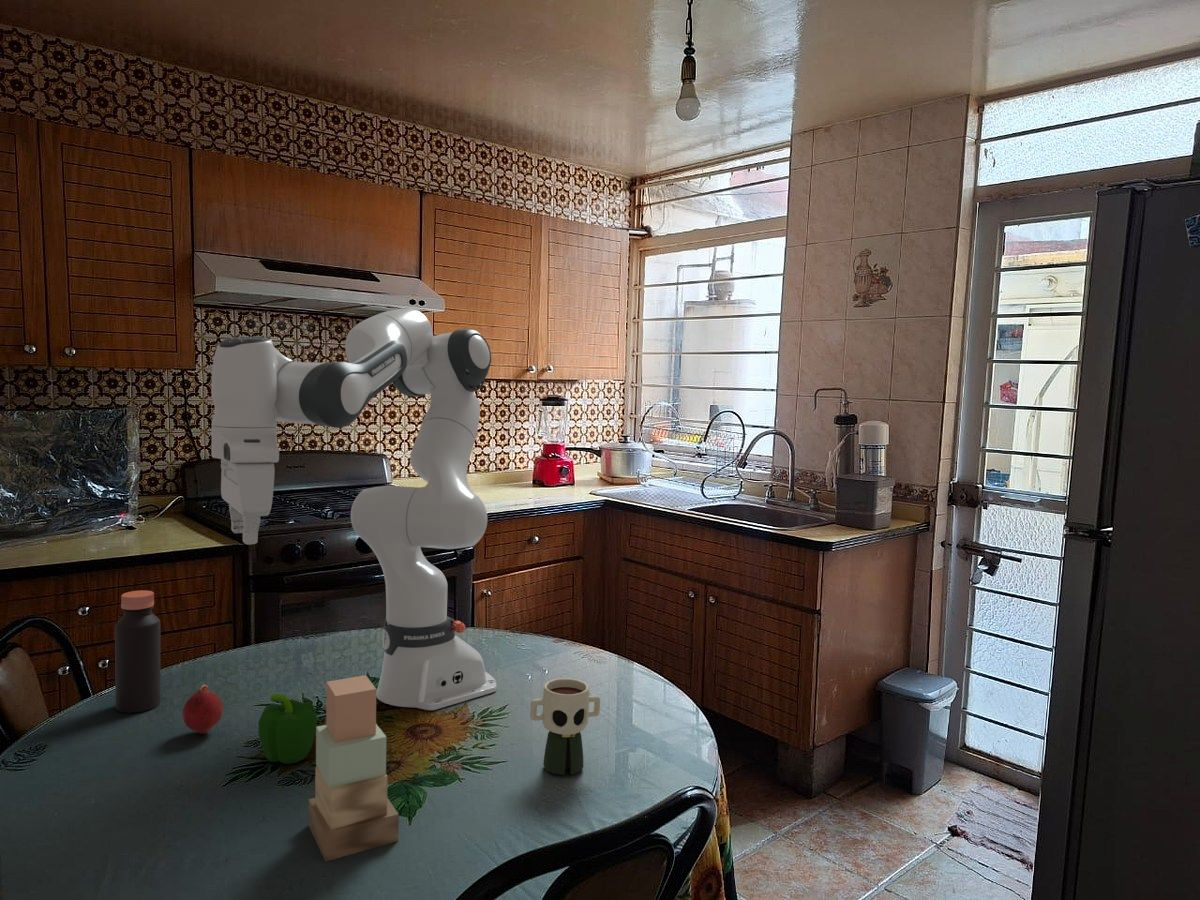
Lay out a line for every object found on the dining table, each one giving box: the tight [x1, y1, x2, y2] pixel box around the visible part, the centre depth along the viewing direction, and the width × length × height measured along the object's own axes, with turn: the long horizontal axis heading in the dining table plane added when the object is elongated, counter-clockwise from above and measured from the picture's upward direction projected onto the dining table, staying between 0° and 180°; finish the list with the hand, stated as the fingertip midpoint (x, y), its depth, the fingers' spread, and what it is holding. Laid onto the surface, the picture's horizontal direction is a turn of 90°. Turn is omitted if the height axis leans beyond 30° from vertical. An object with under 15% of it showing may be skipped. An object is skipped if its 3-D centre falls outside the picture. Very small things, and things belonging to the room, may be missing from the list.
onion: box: [182, 684, 224, 735], centre depth 128 cm, size 6×6×8 cm
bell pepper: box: [257, 693, 318, 765], centre depth 121 cm, size 8×8×10 cm
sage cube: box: [315, 723, 387, 788], centre depth 101 cm, size 7×7×5 cm
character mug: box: [529, 677, 601, 776], centre depth 121 cm, size 11×7×13 cm, turn 105°
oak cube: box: [314, 765, 389, 830], centre depth 100 cm, size 7×7×5 cm
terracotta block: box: [325, 675, 377, 743], centre depth 100 cm, size 5×5×6 cm
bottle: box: [114, 589, 162, 714], centre depth 137 cm, size 7×7×20 cm
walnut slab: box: [308, 797, 400, 862], centre depth 101 cm, size 9×9×4 cm
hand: (244, 537), depth 118 cm, fingers open, 8 cm apart
